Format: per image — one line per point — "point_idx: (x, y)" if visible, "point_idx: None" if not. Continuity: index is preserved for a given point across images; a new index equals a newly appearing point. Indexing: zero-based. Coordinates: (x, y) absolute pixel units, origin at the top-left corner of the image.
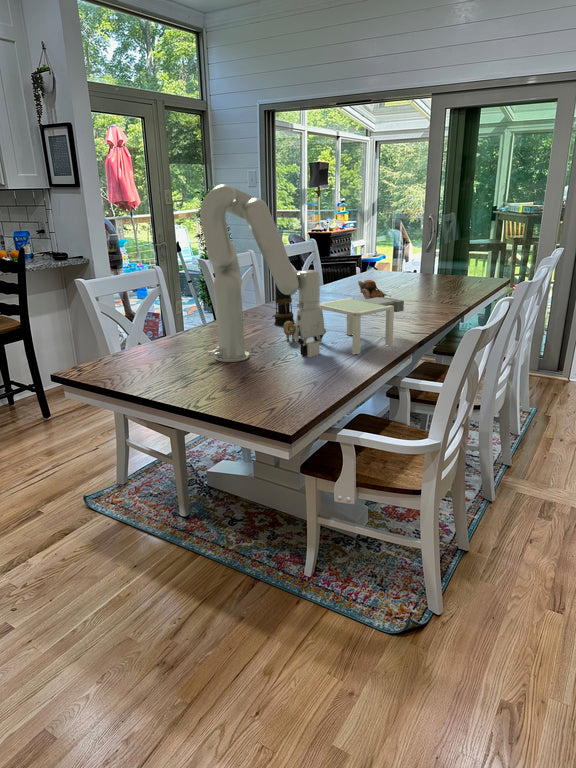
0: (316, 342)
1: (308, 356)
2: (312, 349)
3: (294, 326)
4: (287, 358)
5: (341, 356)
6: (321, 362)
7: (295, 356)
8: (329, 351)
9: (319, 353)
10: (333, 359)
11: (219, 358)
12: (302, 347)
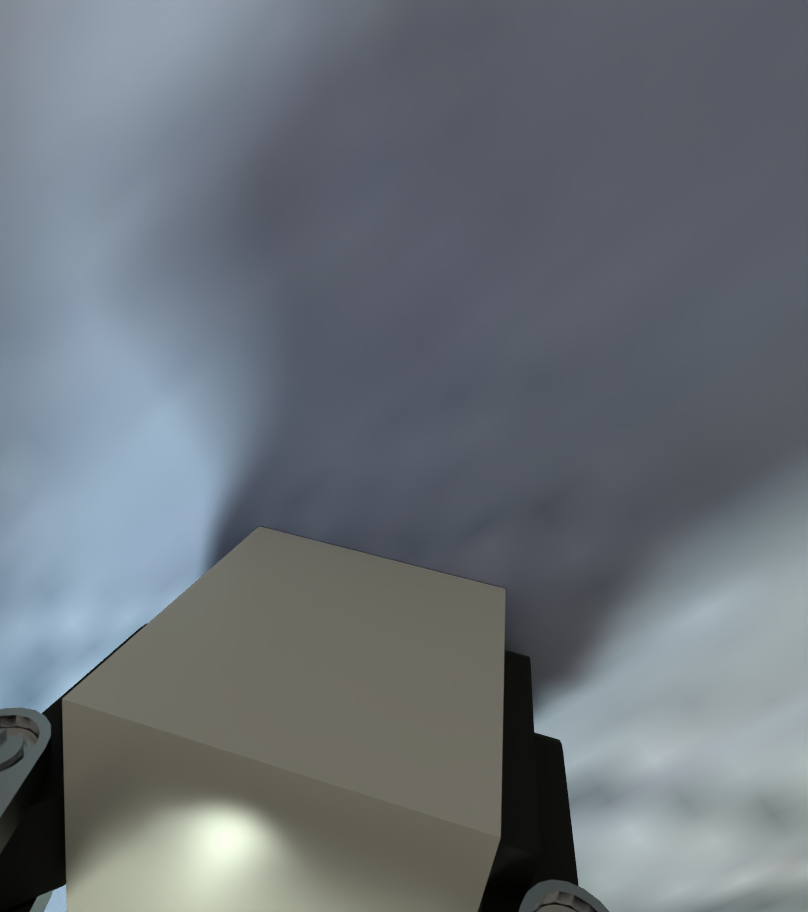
0: (179, 731)
1: (502, 609)
2: (390, 650)
3: None
4: (801, 856)
5: (54, 97)
6: (672, 123)
7: (607, 801)
8: (24, 501)
9: (251, 536)
10: (311, 70)
11: None
12: (568, 877)
